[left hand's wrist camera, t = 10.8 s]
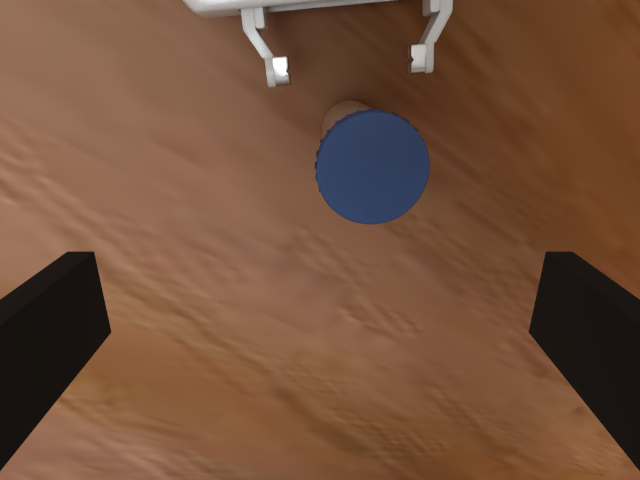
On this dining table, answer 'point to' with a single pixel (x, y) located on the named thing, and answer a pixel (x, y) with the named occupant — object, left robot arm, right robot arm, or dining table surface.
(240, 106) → the dining table surface
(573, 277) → the left robot arm
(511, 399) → the dining table surface
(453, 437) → the dining table surface
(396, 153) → the lid
